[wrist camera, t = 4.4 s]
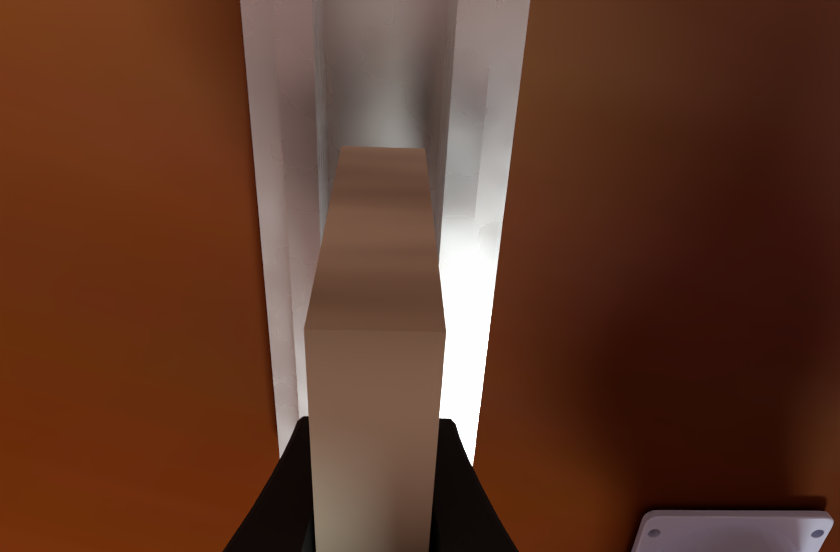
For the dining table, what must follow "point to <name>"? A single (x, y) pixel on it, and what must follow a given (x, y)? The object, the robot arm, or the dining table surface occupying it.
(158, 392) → the dining table surface
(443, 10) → the door track
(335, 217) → the door panel
